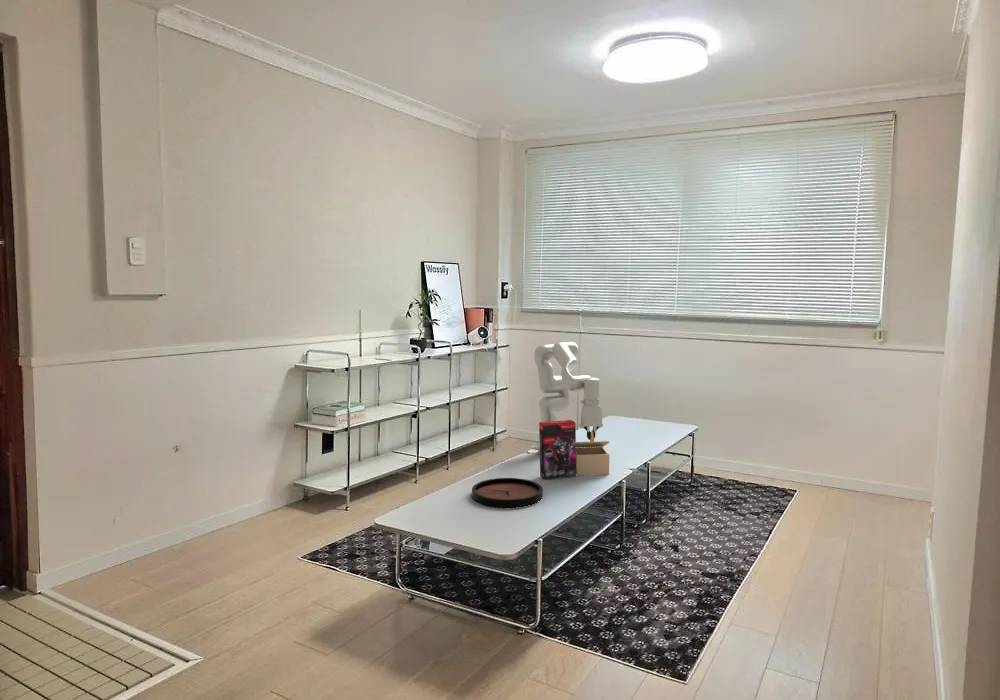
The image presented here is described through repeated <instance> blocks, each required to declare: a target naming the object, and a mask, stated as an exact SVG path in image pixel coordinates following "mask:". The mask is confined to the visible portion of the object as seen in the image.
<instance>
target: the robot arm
mask: <svg viewBox="0 0 1000 700" xmlns="http://www.w3.org/2000/svg"><path fill="white" fill-rule="evenodd" d="M579 351H580V350H579V347H578V345H577V343H576V342H574V341H563V342H556V343H547V344H540V345H538V346H537V347H536V348H535V350H534V352H533V353H534V355H533V356H534V361H535V364H536V368H537V375H538V383H539V390H540V391H541V393H542V394H544V395H545V394H546V395H547V394H548V395H547V396H543V397H541V398H540V399H539V401H538V408H539V414H540V415H539V416H540V422H549V421H559V420H558V418H557V416H556V415H555V414H558V413H566V412H568V411H569V410H570V407H571V400H570V392H579V391H583V399H582V400H580V403H581V404H582V406H581V410H580V411H581V412H580V423H579V427H580V428H581V429H584V430H585V431H586V438H587V439H588V440H589V441H590V440H591V432H593V435H594V439H595V438H596V432H597V431H598V430H599V429H600V428H603V427H604V425H603V412H602V406H601V405H600V379H599V378H597V377H593V376H591V375H589V374H584V375H572V374H571V373H570V372H571V371H573V370H574V369H575V368H576V367H577V365H578V361H577V360H578V359H577V358H576V357H578V355H579ZM550 360H554V361H555V360H556V361H557V362H558V364H559V365H560V367H561V372H560V374H558V375H555V372H554V366H553V364H552V363H551V362H550ZM549 394H555V395H549ZM556 394H557V395H556ZM590 427H592V430H591V429H590ZM531 449H532V450H534V451H537V453H538V455H540V444H538V445H532V446H531Z"/></svg>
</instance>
